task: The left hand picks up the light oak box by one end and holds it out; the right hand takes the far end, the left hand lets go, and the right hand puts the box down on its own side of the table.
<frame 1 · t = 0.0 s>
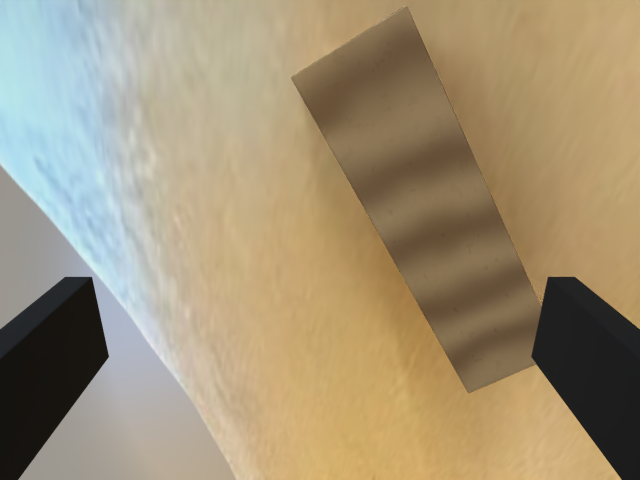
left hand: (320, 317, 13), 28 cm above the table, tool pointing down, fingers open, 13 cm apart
box: (413, 193, 40), on the table
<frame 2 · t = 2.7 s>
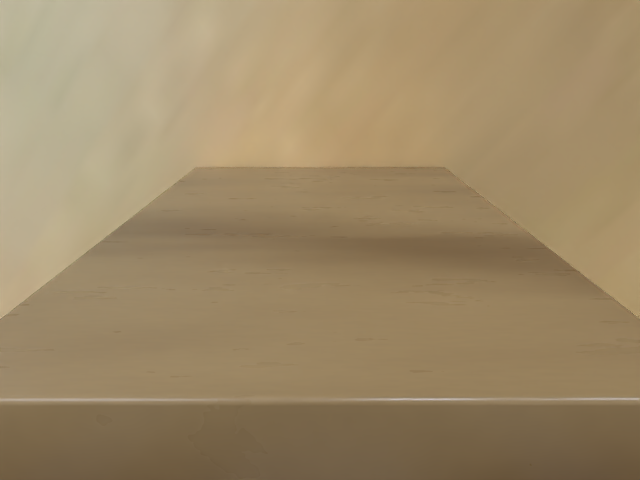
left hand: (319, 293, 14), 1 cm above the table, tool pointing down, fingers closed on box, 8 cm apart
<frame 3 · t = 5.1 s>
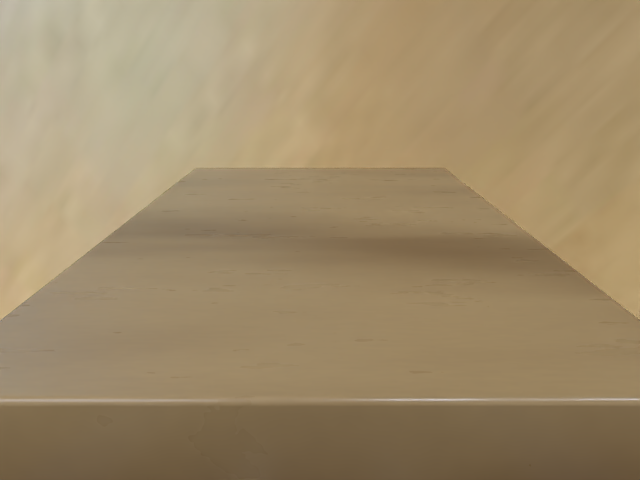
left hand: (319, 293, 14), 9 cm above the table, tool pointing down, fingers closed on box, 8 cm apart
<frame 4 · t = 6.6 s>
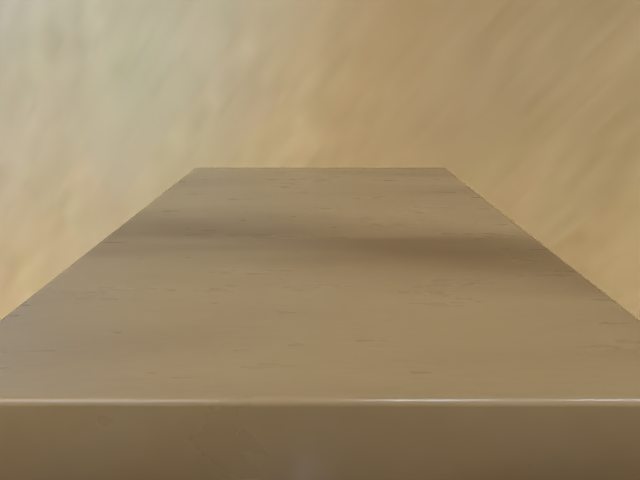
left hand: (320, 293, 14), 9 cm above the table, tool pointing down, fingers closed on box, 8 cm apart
when the left hand's fingers open (9 cm above the table, at t = 7.5 s): box stays where it is, held by the right hand.
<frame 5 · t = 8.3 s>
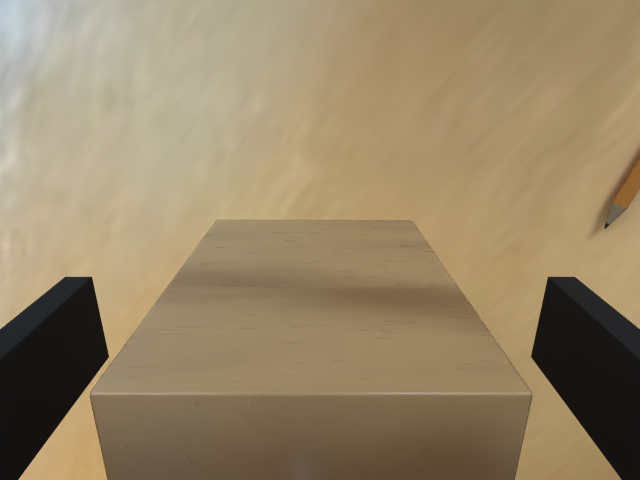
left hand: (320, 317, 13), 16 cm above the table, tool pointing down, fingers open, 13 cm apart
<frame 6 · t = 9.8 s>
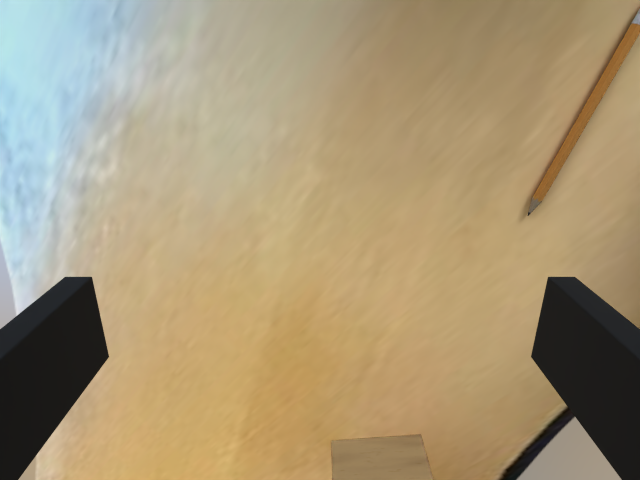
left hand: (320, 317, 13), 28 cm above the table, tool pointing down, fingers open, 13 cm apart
pencil: (580, 116, 38), on the table
when the right hand's fingers open (2 cm above the table, at t = 11.2 s): box stays where it is, on the table.
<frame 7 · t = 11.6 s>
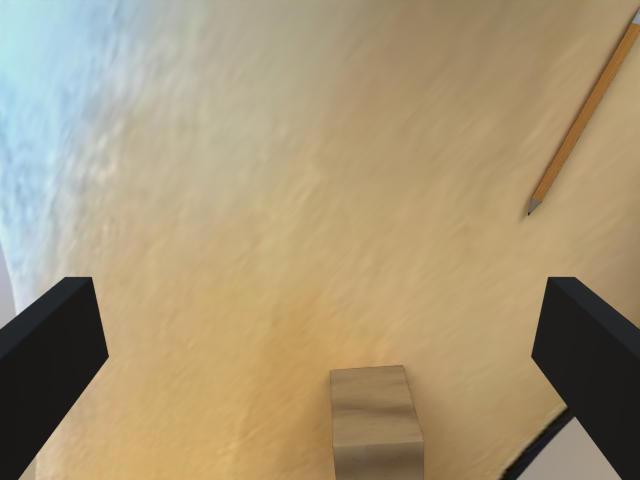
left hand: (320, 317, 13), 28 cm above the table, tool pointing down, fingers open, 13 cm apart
box: (371, 462, 52), on the table
pencil: (580, 116, 38), on the table
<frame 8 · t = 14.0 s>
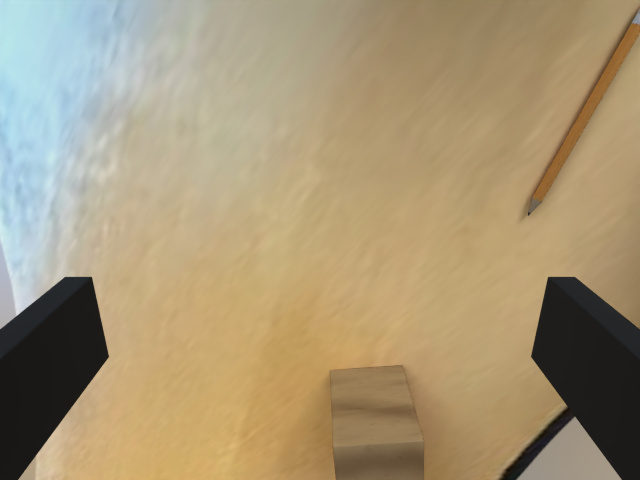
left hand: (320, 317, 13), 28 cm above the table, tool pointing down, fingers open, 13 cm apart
box: (371, 462, 52), on the table
pencil: (580, 116, 38), on the table
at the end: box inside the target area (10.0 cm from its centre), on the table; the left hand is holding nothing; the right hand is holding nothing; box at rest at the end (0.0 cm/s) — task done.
